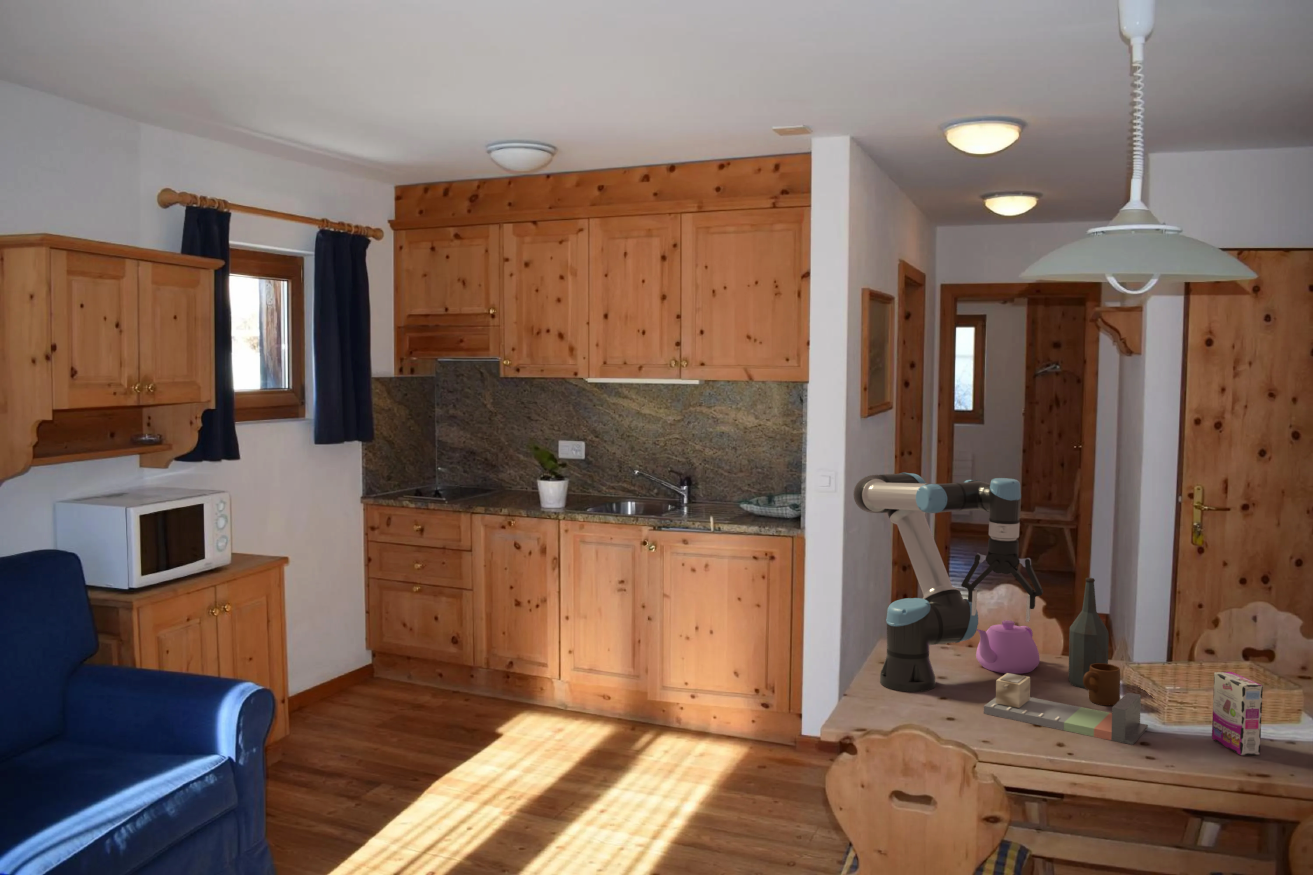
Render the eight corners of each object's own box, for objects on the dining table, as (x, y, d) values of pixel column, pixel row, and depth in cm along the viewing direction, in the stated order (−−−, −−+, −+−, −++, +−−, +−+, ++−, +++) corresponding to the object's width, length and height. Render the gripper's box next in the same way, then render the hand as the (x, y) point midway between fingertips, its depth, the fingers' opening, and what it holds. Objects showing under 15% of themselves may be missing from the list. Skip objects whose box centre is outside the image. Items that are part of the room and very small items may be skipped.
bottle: (1090, 677, 293) (1092, 573, 290) (1115, 687, 283) (1118, 580, 281) (1060, 680, 289) (1062, 575, 287) (1084, 691, 280) (1087, 582, 278)
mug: (1096, 711, 264) (1097, 675, 263) (1071, 702, 271) (1071, 668, 270) (1126, 703, 270) (1126, 668, 269) (1100, 695, 277) (1101, 661, 276)
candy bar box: (1261, 755, 234) (1264, 685, 233) (1241, 756, 233) (1243, 685, 232) (1230, 737, 245) (1232, 670, 244) (1210, 738, 244) (1212, 671, 243)
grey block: (1111, 740, 244) (1112, 707, 243) (1127, 723, 255) (1127, 692, 254) (1132, 744, 241) (1133, 711, 240) (1147, 727, 252) (1148, 695, 251)
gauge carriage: (992, 705, 262) (993, 681, 262) (1006, 695, 270) (1007, 672, 270) (1016, 709, 259) (1016, 685, 258) (1029, 699, 267) (1030, 676, 266)
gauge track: (983, 713, 263) (983, 704, 263) (1003, 699, 274) (1003, 690, 274) (1111, 740, 244) (1111, 730, 244) (1127, 723, 255) (1127, 714, 255)
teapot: (1006, 653, 317) (1007, 609, 316) (1057, 667, 302) (1058, 621, 301) (952, 667, 303) (953, 621, 302) (1003, 682, 289) (1003, 634, 288)
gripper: (952, 536, 270) (949, 614, 272) (1053, 544, 259) (1049, 627, 261) (957, 531, 276) (954, 608, 278) (1056, 539, 265) (1052, 619, 267)
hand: (1000, 617), depth 270 cm, fingers open, 13 cm apart
